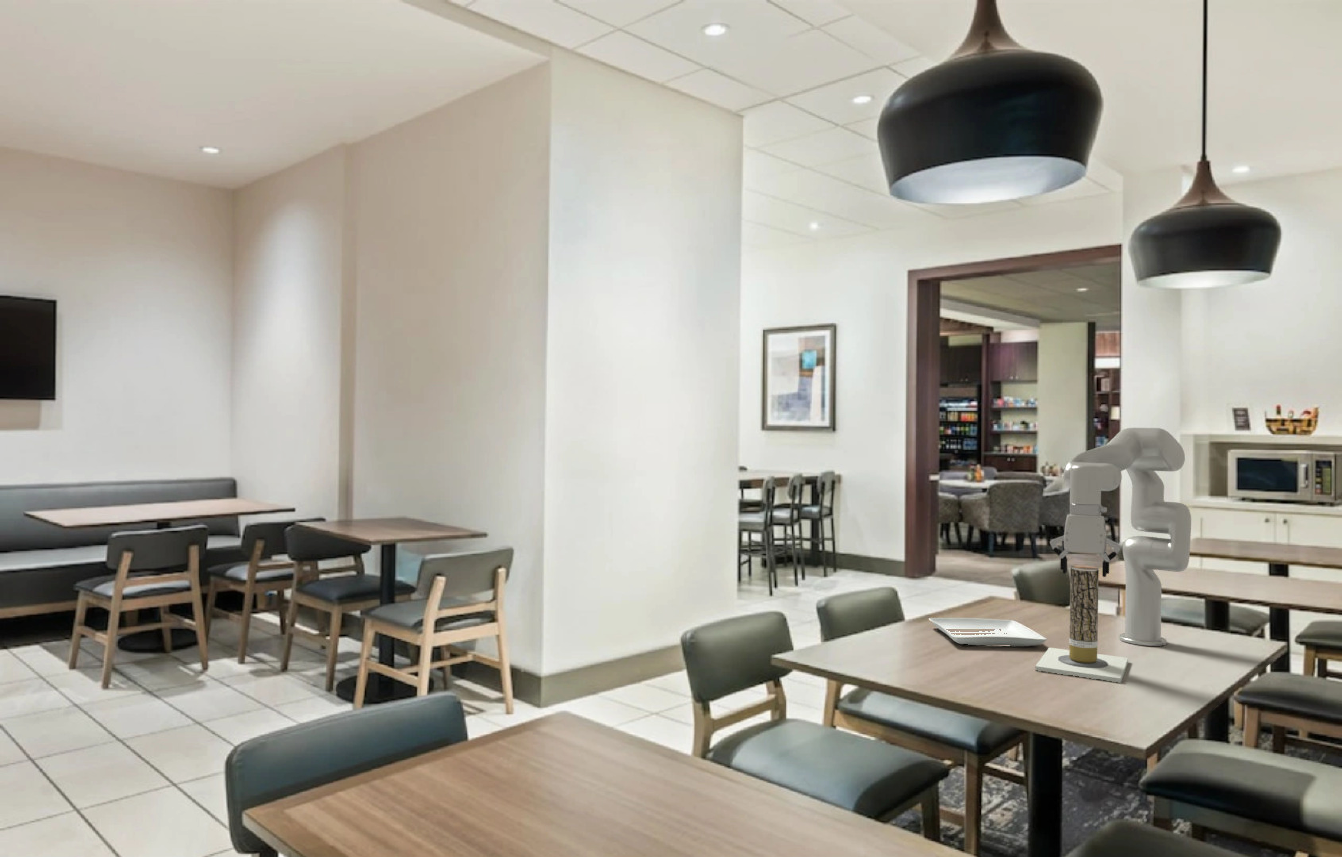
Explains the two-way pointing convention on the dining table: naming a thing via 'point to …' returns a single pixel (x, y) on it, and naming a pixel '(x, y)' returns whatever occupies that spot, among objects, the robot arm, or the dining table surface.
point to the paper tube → (1083, 613)
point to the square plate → (1014, 630)
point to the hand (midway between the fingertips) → (1084, 574)
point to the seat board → (1083, 665)
